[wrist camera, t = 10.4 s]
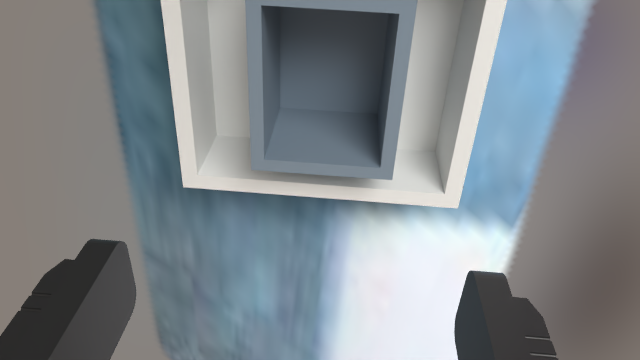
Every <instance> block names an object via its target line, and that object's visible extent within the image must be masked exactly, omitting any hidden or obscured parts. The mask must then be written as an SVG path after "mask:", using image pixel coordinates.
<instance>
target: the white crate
mask: <svg viewBox="0 0 640 360" xmlns="http://www.w3.org/2000/svg"><path fill="white" fill-rule="evenodd" d="M506 2H507V0H418V2H417V9H416V16H415V23H414V30H413V37H412V44H411V51H410V58H409V65H408V73H407V80H406V87H405V94H404V101H403V108H402V115H401V122H400V129H399V136H398V143H397V150H396V158H395V165H394V172H393V179H392V180H382V179H369V178H355V177H341V176H327V175H314V174H300V173H286V172H273V171H259V170H251V147H250V119H249V92H248V64H247V37H246V10H245V0H161V7H162V15H163V23H164V32H165V40H166V48H167V57H168V65H169V73H170V81H171V90H172V98H173V106H174V115H175V123H176V131H177V140H178V148H179V156H180V164H181V173H182V181H183V187H187V188H200V189H213V190H226V191H239V192H252V193H265V194H278V195H291V196H304V197H317V198H330V199H343V200H356V201H369V202H382V203H395V204H408V205H421V206H434V207H447V208H458V206H459V201H460V197H461V193H462V189H463V184H464V180H465V176H466V172H467V167H468V163H469V159H470V155H471V151H472V146H473V142H474V138H475V134H476V129H477V125H478V121H479V117H480V112H481V108H482V104H483V100H484V95H485V91H486V87H487V83H488V79H489V74H490V70H491V66H492V62H493V57H494V53H495V49H496V45H497V40H498V36H499V32H500V28H501V24H502V19H503V15H504V11H505V7H506Z"/></svg>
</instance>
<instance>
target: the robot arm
mask: <svg viewBox="0 0 640 360" xmlns="http://www.w3.org/2000/svg"><path fill="white" fill-rule="evenodd" d="M135 300H136V286H135V281H134V276H133V272H132V267H131V262H130V258H129V253H128V249H127V245H126V244H125V242H122V241H111V240H98V239H91V240H89V241H88V242H87V243H86V244H85V246H84V247H83V248H82V250H81V251H80V253H79V254H78V256H77V257H76V259H75V260H69V259H64V260H63V261H62V262H60V263H59V264H58V265H57V266H55V267H54V268H52V269H51V270H50V271H48V272H47V273H46V274H45V275H44V276H43V277H42V279H41V280H40V282H39V283H38V284H37V286H36V287H35V289H34V290H33V291H32V295H31V296H29V297H28V299H27V300H26V301H25V303H24V304H23V305H22V307H21V311H18V312H17V314H16V315H15V317H14V318H13V319H12V321H11V322H10V323H9V325H8V326H7V328H6V329H5V330H4V332H3V333H2V334H1V336H0V360H110V358H111V356H112V354H113V352H114V350H115V348H116V346H117V344H118V342H119V340H120V338H121V336H122V333H123V331H124V329H125V327H126V325H127V323H128V321H129V319H130V317H131V314H132V312H133V309H134V306H135ZM455 344H456V349H457V355H458V360H558V359H557V358H556V352H555V349H554V346H553V344H552V342H551V341H550V336H549V333H548V330H547V327H546V325H545V322H544V319H543V317H542V316H541V314H540V313H539V312H538V311H537V310H536V309H535V308H534V306H533V305H532V304H531V303H530V301H528V299H527V298H517V297H512V294H511V291H510V288H509V285H508V282H507V279H506V276H505V275H504V274H503V273H494V272H481V271H469V273H468V275H467V277H466V281H465V285H464V288H463V292H462V296H461V299H460V303H459V306H458V310H457V314H456V319H455Z"/></svg>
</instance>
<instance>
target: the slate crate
mask: <svg viewBox="0 0 640 360" xmlns="http://www.w3.org/2000/svg"><path fill="white" fill-rule="evenodd" d="M417 2H418V0H245V10H246V37H247V64H248V92H249V119H250V147H251V170H259V171H273V172H286V173H300V174H314V175H327V176H341V177H355V178H369V179H382V180H392V179H393V172H394V165H395V158H396V150H397V143H398V136H399V129H400V122H401V115H402V108H403V101H404V94H405V87H406V80H407V73H408V65H409V58H410V51H411V44H412V37H413V30H414V23H415V16H416V9H417Z"/></svg>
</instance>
